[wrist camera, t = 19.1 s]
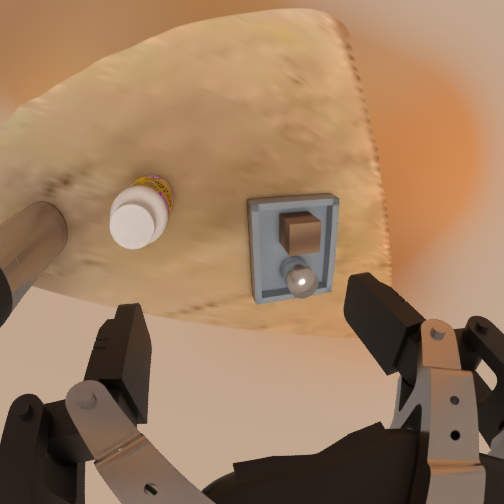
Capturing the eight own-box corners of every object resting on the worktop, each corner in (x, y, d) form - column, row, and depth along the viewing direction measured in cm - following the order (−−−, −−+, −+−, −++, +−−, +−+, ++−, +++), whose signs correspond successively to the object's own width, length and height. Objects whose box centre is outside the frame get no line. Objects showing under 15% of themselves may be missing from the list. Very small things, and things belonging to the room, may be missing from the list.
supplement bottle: (183, 198, 38) (178, 230, 26) (150, 228, 38) (133, 271, 27) (152, 163, 35) (132, 180, 23) (119, 195, 35) (88, 226, 24)
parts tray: (252, 294, 46) (255, 304, 44) (247, 199, 39) (251, 204, 37) (324, 282, 48) (331, 291, 46) (330, 193, 41) (339, 198, 39)
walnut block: (279, 213, 40) (289, 224, 36) (308, 210, 41) (321, 221, 36) (279, 241, 42) (289, 256, 38) (307, 238, 43) (319, 252, 38)
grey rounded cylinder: (279, 281, 45) (289, 300, 40) (279, 257, 43) (290, 274, 38) (305, 277, 46) (317, 295, 41) (306, 253, 44) (319, 270, 39)
